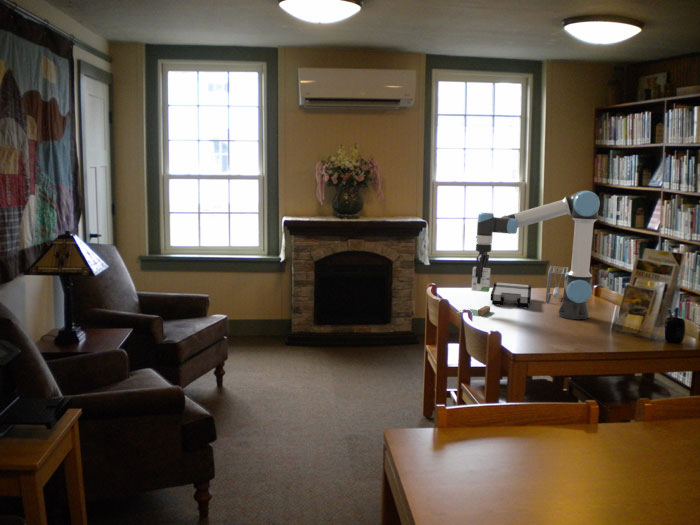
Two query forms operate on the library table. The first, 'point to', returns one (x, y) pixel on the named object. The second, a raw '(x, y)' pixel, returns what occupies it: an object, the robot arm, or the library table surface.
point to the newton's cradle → (556, 290)
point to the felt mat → (475, 313)
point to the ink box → (484, 280)
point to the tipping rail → (483, 310)
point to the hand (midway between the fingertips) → (480, 289)
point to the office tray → (511, 294)
